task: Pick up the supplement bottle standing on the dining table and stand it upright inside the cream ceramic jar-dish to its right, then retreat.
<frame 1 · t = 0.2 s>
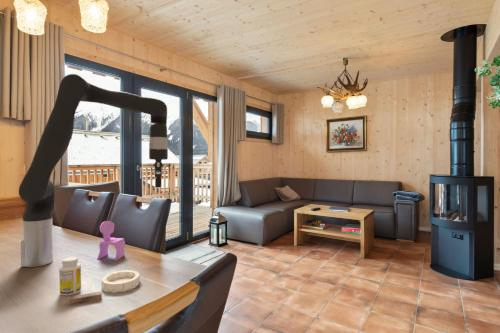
hand: (158, 186, 124), 29 cm above the table, fingers open, 8 cm apart
jar dish: (121, 284, 94), on the table
toy chair: (111, 258, 120), on the table
walnut stick: (85, 302, 83), on the table
supplement bottle: (70, 292, 89), on the table
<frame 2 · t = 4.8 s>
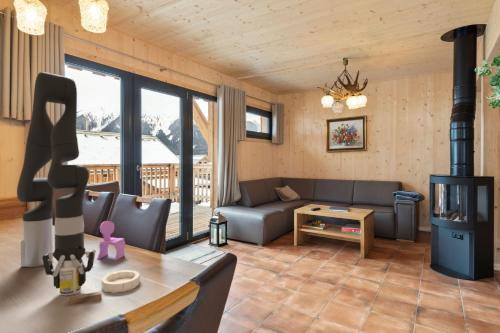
hand: (70, 286, 88), 2 cm above the table, fingers closed on supplement bottle, 5 cm apart
supplement bottle: (70, 292, 89), on the table, touching gripper
everything else where it was.
when the fingers open (4 cm above the table, at t = 10.6 s): supplement bottle drops 1 cm, resting on jar dish.
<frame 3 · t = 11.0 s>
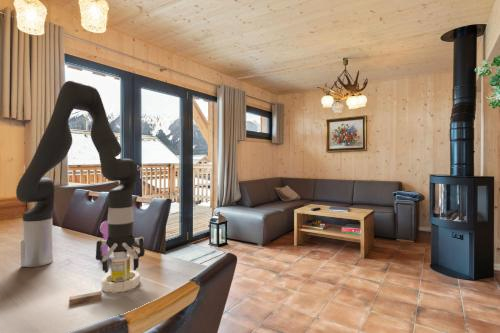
hand: (121, 270, 94), 5 cm above the table, fingers open, 8 cm apart
supplement bottle: (120, 282, 94), point 1 cm above the table, touching jar dish
everything else where it was.
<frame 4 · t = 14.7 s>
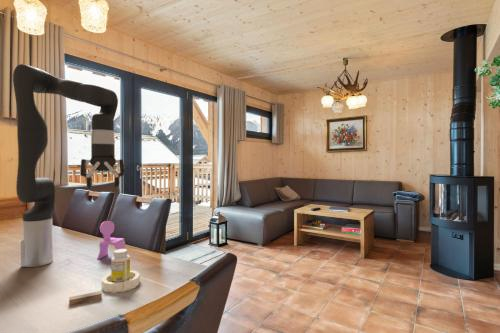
hand: (103, 187, 105), 30 cm above the table, fingers open, 8 cm apart
nothing on the table moved.
at the end: supplement bottle 0.4 cm from the jar dish (horizontally); supplement bottle point 0.6 cm above the table; supplement bottle tilted 0° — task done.
